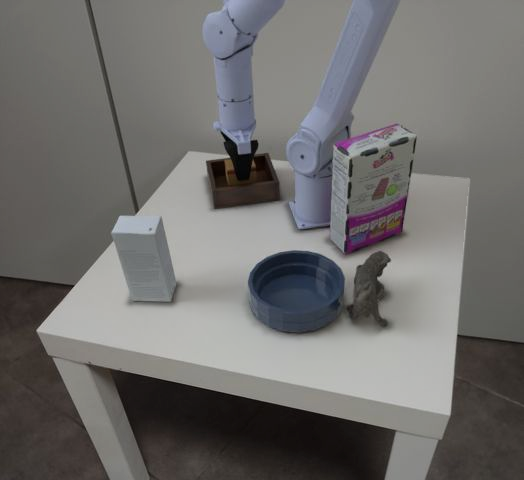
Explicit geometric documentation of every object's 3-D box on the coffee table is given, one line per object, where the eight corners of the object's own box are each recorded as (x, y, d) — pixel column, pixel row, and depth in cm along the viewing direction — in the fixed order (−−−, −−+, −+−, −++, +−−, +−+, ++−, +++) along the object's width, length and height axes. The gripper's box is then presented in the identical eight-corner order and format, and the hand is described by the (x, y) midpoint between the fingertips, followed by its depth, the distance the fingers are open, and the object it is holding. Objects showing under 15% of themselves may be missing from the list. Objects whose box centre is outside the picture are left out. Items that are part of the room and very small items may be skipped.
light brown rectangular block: (253, 171, 98) (252, 156, 96) (256, 182, 96) (255, 166, 94) (225, 175, 98) (224, 160, 96) (228, 185, 95) (226, 170, 93)
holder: (268, 169, 102) (268, 152, 100) (279, 200, 95) (279, 182, 93) (207, 177, 101) (205, 160, 99) (214, 209, 94) (212, 191, 92)
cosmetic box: (177, 283, 81) (163, 215, 72) (171, 302, 78) (155, 234, 70) (138, 282, 82) (119, 214, 73) (130, 301, 79) (110, 233, 70)
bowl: (329, 266, 82) (330, 244, 80) (354, 326, 74) (356, 304, 71) (243, 278, 81) (241, 257, 78) (258, 341, 73) (256, 320, 70)
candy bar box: (384, 218, 90) (398, 121, 78) (402, 233, 87) (420, 135, 75) (326, 239, 87) (331, 141, 75) (344, 256, 84) (352, 156, 72)
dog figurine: (386, 335, 72) (393, 293, 67) (342, 329, 73) (346, 287, 68) (393, 277, 80) (400, 236, 74) (354, 273, 81) (358, 231, 76)
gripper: (205, 79, 90) (214, 155, 101) (215, 117, 81) (224, 197, 91) (247, 74, 91) (251, 151, 101) (262, 111, 81) (265, 192, 91)
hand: (241, 173), depth 96 cm, fingers closed on light brown rectangular block, 3 cm apart
